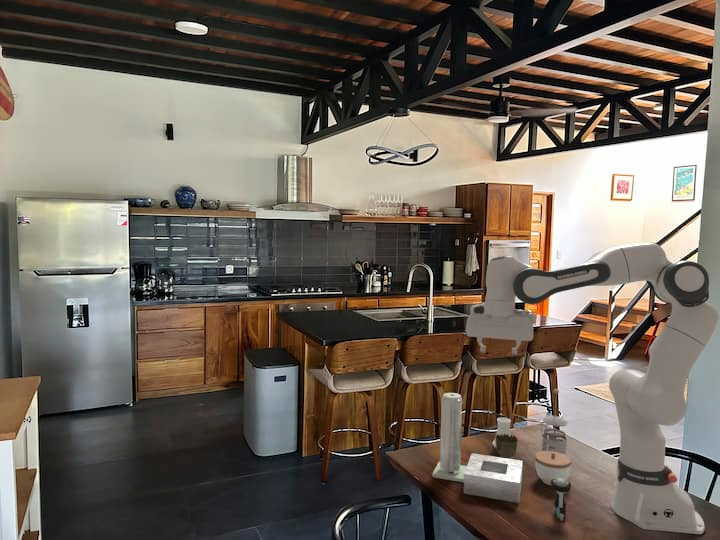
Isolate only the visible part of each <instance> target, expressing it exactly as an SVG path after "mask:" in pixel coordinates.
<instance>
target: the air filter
mask: <svg viewBox="0 0 720 540" xmlns="http://www.w3.org/2000/svg"><path fill="white" fill-rule="evenodd" d="M440 411H441V413H440V414H441V416H440V417H441V418H440V453H439V455H440V457H439V459H440V460H439V462H440V470H441V472H443V473H445V474H451V475H453V474H458V473H459V472H460V465H461V457H462V456H461V455H462V452H461V451H462V417H463V415H462V414H463V398H462V395H461V394H460V393H455V392H445V393H443V395H442V396H441V409H440Z"/></svg>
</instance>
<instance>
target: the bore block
mask: <svg viewBox="0 0 720 540" xmlns="http://www.w3.org/2000/svg"><path fill="white" fill-rule="evenodd" d="M466 466H467V467H466V470H465V473H464V482H463V494H465V495H466V494H467V495H470V496H477V497H482V498H483V497H484V498H489V499H494V500H500V501H505V502H511V503H516V504H520V500H521V499H520V498H521V491H522V483H523V482H522V481H523V467H524V466H523V460H520V459H513V458H512V459H507V458H500V456H499V457H498V456H493V455H486V454H480V453H479V454H478V453H473V452H472V453H471V454H470V457H469V460H468V462H467V464H466Z"/></svg>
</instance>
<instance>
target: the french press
mask: <svg viewBox="0 0 720 540" xmlns="http://www.w3.org/2000/svg"><path fill="white" fill-rule="evenodd" d="M552 392H553V394H554V393H555V394H559V393H560V390H559V389H558V388H554V389H553V390H552ZM554 401H555V402H554V406H555V407H554V415H548V416H545V417H544V418H542V423H541V426H540V427H541V428H540V429H541V430H540V433H541V437H542V441H541V443H542V444H541V446H542V448H541V451H554V452H559V453H562V454H564V455H567V453H566V452H567V436H566V435H567V434H566V432H565V431H563V430H560V429H558V428H557V429H556V427H565V426H567V425H568V422H569V421H568V420H566V419H565V418H563V417H561V416H557V415H556V413H557V399H555V400H554ZM544 423H545V428H544V430H543V424H544ZM547 426H552V427H554V428H547ZM560 438H561V439H560Z"/></svg>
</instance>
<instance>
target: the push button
mask: <svg viewBox="0 0 720 540" xmlns="http://www.w3.org/2000/svg"><path fill="white" fill-rule="evenodd" d="M550 486H551V488H552V489H553V490H554V491H555V492H556V496H555V499H554V501H553V504H554V505H553V506H554V507H553V514H556V517H557V519H559V520H560V521H564V519H565V516H566V515H567V514H566V513H567V510H566V506H567V502H566V500H565V493H568V492H570V491H571V487H572V484H571V483H570V481H568V479H566V478H563V477H555V478H554V479H552V480H551V485H550Z"/></svg>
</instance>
